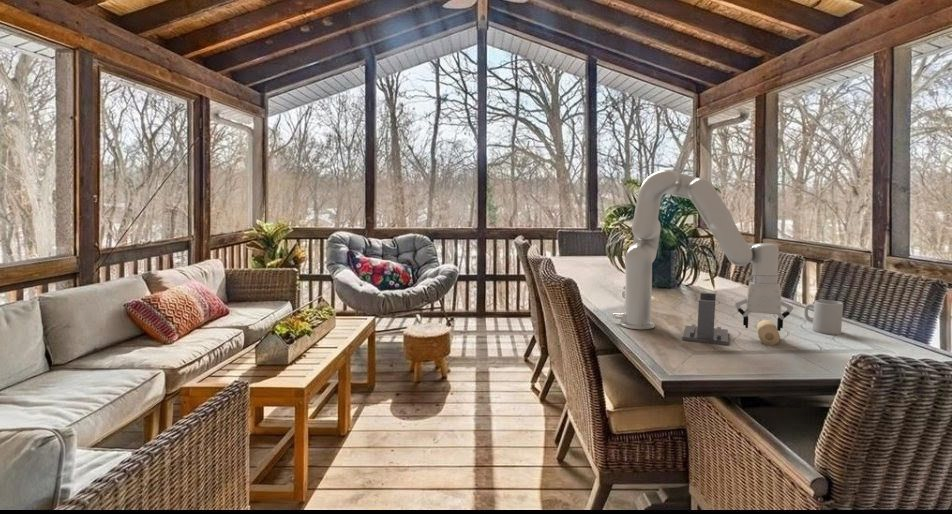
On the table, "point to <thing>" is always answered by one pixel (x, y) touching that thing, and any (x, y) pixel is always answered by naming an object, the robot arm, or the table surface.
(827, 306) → the mug
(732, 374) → the table surface
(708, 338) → the roll holder
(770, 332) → the paper roll
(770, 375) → the table surface
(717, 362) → the table surface
